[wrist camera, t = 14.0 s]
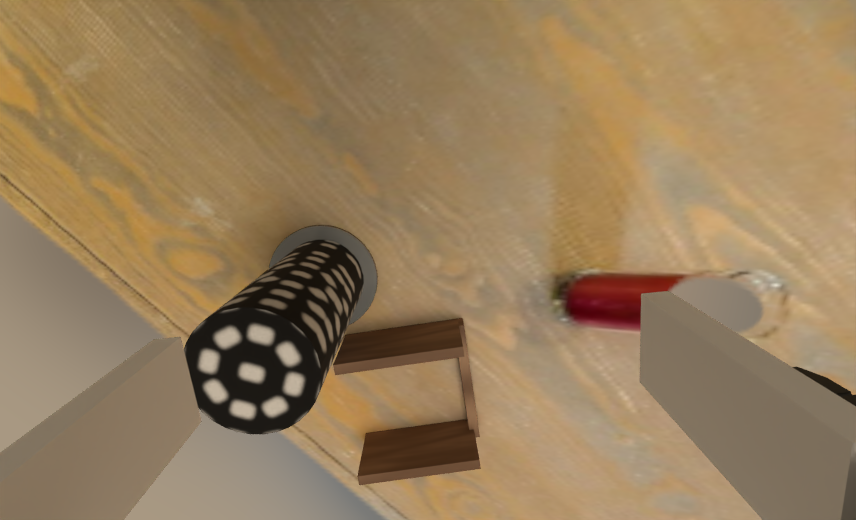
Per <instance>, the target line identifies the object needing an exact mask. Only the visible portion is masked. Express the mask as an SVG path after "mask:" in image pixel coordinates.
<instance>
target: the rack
mask: <svg viewBox="0 0 856 520" xmlns="http://www.w3.org/2000/svg"><path fill="white" fill-rule="evenodd" d="M452 358H459V364H460V371H461V378H462V385H463V392H464V398H465V405H466V412H467V419H466V420H459V421H452V422H444V423H437V424H430V425H423V426H415V427H408V428H401V429H394V430H387V431H379V432H372V433H366V436H365V441H364V446H363V451H362V456H361V461H360V466H359V471H358V476H357V477H358V481H359V485H364V484H371V483H379V482H386V481H393V480H401V479H408V478H416V477H423V476H430V475H438V474H445V473H452V472H460V471H467V470H475V469H481V468H480V461H479V455H478V450H477V444H476V438H475V437H480V436H479V429H478V422H477V414H476V407H475V400H474V393H473V386H472V379H471V372H470V365H469V358H468V351H467V344H466V337H465V330H464V323H463V319H462V318H459V319H452V320H445V321H438V322H432V323H425V324H418V325H411V326H404V327H397V328H390V329H383V330H376V331H369V332H363V333H356V334H349V335H345V338H344V340H343V343H342V345H341V347H340V350H339V352H338V355H337V357H336V360H335V362H334V364H333V367H334V371H335V375H339V374H346V373H353V372H360V371H367V370H374V369H381V368H388V367H395V366H402V365H409V364H417V363H424V362H431V361H438V360H445V359H452Z"/></svg>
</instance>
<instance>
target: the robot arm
mask: <svg viewBox="0 0 856 520" xmlns="http://www.w3.org/2000/svg"><path fill="white" fill-rule="evenodd" d="M640 383H641V384H642V385H643V386H644V387H645V388H646V390H647V391H648V392H649V393H650V394H651V395H652V396H653V397H654V399H655V400H656V401H657V402H658V403H659V404H660V405H661V406H662V407H663V409H664V410H665V411H666V412H667V413H668V414H669V415H670V416H671V418H672V419H673V420H674V421H675V422H676V423H677V424H678V425H679V427H680V428H681V429H682V430H683V431H684V432H685V433H686V434H687V435H688V437H689V438H690V439H691V440H692V441H693V442H694V443H695V444H696V446H697V447H698V448H699V449H700V450H701V451H702V452H703V453H704V454H705V456H706V457H707V458H708V459H709V460H710V461H711V462H712V463H713V465H714V466H715V467H716V468H717V469H718V470H719V471H720V472H721V474H722V475H723V476H724V477H725V478H726V479H727V480H728V481H729V482H730V484H731V485H732V486H733V487H734V488H735V489H736V490H737V491H738V493H739V494H740V495H741V496H742V497H743V498H744V499H745V500H746V501H747V503H748V504H749V505H750V506H751V507H752V508H753V509H754V510H755V512H756V513H757V514H758V515H759V516H760V517H761V518H762V519H763V520H856V395H852V394H851V392H850V391H848V390H847V389H845V388H843V387H842V386H840V385H838V384H837V383H835V382H833V381H832V380H830V379H828V378H826V377H823V376H821V375H818V374H815V373H813V372H810V371H807V370H804V369H802V368H799V367H791V366H789V365H788V364H786V363H784V362H783V361H781V360H780V359H778V358H776V357H775V356H773V355H771V354H770V353H768V352H767V351H765V350H763V349H762V348H760V347H758V346H757V345H755V344H754V343H752V342H750V341H749V340H747V339H745V338H744V337H742V336H741V335H739V334H737V333H736V332H734V331H732V330H731V329H729V328H728V327H726V326H724V325H723V324H721V323H720V322H718V321H716V320H715V319H713V318H711V317H710V316H708V315H707V314H705V313H703V312H702V311H700V310H698V309H697V308H695V307H693V306H692V305H690V304H689V303H687V302H685V301H684V300H682V299H681V298H679V297H677V296H676V295H674V294H672V293H671V292H669V291H666V292H655V293H644V294H641V337H640ZM200 423H201V417H200V413H199V409H198V405H197V401H196V397H195V393H194V389H193V385H192V381H191V377H190V373H189V369H188V365H187V361H186V357H185V353H184V349H183V345H182V341H181V337H174V338H163V339H154V340H153V341H151V342H150V343H149V344H147V345H146V346H144V347H143V348H142V349H140V350H139V351H138V352H136V353H135V354H134V355H132V356H131V357H130V358H128V359H127V360H125V361H124V362H123V363H122V364H120V365H119V366H117V367H116V368H115V369H113V370H112V371H111V372H109V373H108V374H107V375H105V376H104V377H102V378H101V379H100V380H98V381H97V382H96V383H94V384H93V385H92V386H90V387H89V388H87V389H86V390H85V391H83V392H82V393H81V394H79V395H78V396H77V397H75V398H74V399H73V400H71V401H70V402H69V403H67V404H66V405H64V406H63V407H62V408H60V409H59V410H58V411H56V412H55V413H54V414H52V415H51V416H49V417H48V418H47V419H45V420H44V421H43V422H41V423H40V424H39V425H37V426H36V427H35V428H33V429H32V430H31V431H29V432H28V433H27V434H25V435H24V436H22V437H21V438H20V439H18V440H17V441H16V442H14V443H13V444H11V445H10V446H9V447H8V448H6V449H5V450H3V451H2V452H1V453H0V520H124V519H125V518H126V516H127V515H128V514H129V513H130V511H131V510H132V509H133V508H134V506H135V505H136V504H137V502H138V501H139V500H140V499H141V497H142V496H143V495H144V494H145V492H146V491H147V490H148V489H149V487H150V486H151V485H152V484H153V482H154V481H155V480H156V478H157V477H158V476H159V475H160V473H161V472H162V471H163V470H164V468H165V467H166V466H167V465H168V463H169V462H170V461H171V459H172V458H173V457H174V456H175V454H176V453H177V452H178V451H179V449H180V448H181V447H182V446H183V444H184V443H185V442H186V441H187V439H188V438H189V437H190V435H191V434H192V433H193V432H194V430H195V429H196V428H197V427H198V425H199V424H200Z"/></svg>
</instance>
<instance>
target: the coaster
mask: <svg viewBox="0 0 856 520" xmlns="http://www.w3.org/2000/svg"><path fill="white" fill-rule="evenodd" d="M312 240H329V241H334V242H336V243H339V244H341V245H342V246H344V247H346V248H347V249H348V250H349V251H351V252H352V253H353V254H354V256H355V257H356V258H357V260H358V261H359V264H360V266H361V268H362V272H363V277H364V285H363V290H362V293H361V296H360V298H359V301H358V303H357V305H356V308H355V310H354V312H353V315H352V317H351V319H350V322H349V324H348V325H350V324H352V323H354V322H355V321H357V320H358V319H359V318H360V317H361V316H363V315H364V313H365V312H366V311H367V310H368V308H369V307H370V305H371V303H372V301H373V299H374V296H375V293H376V289H377V270H376V266H375V262H374V260H373V257H372V256H371V254H370V252H369V250H368V249H367V248H366V246H365V245H364V244H363V243H362V242H361V241H360V240H359V239H358V238H356V237H355V236H354V235H352V234H350V233H349V232H347V231H345V230H342V229H340V228H336V227H332V226H324V225H318V226H310V227H306V228H303V229H300V230H298V231H296V232H294V233H293V234H291V235H290V236H288V237H287V238H286V239H285V240H284V241H283V242H281V244H280V245H279V246H278V247H277V249H276V250H275V252H274V254H273V256H272V259H271V261H270V266H269V269H270V268H271V267H272V266H273V265H275V264H276V263H277V262H279V261H280V260H281V259H282V258H284V257H285V256H286V255H287V254H289V253H290V252H291V251H292V250H294V249H295V248H296V247H298V246H299V245H301V244H303V243H305V242H308V241H312Z"/></svg>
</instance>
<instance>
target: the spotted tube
mask: <svg viewBox="0 0 856 520" xmlns="http://www.w3.org/2000/svg"><path fill="white" fill-rule="evenodd" d="M363 285H364V277H363V272H362V268H361V266H360V264H359V261H358V260H357V258H356V257H355V256H354V254H353V253H352V252H351V251H349V250H348V249H347V248H346V247H344V246H342V245H341V244H339V243H336V242H334V241H329V240H312V241H308V242H305V243H303V244H301V245H299V246H298V247H296V248H295V249H294V250H292V251H291V252H290V253H289V254H287V255H286V256H285V257H284V258H282V259H281V260H280V261H279V262H277V263H276V264H275V265H273V266H272V267H271V268H270V269H268V270H267V271H266V272H265V273H263V274H262V275H261V276H260V277H258V278H257V279H256V280H255V281H253V282H252V283H251V284H249V285H248V286H247V287H246V288H244V289H243V290H242V291H241V292H239V293H238V294H237V295H236V296H234V297H233V298H232V299H231V300H229V301H228V302H227V303H225V304H224V305H223V306H222V307H220V308H219V309H218V310H217V311H215V312H214V313H213V314H212V315H210V316H209V317H208V318H207V319H205V320H204V321H203V322H201V324H200V325H199V326H198V327H197V328H196V329H195V330H194V331H193V332H192V334H191V335H190V337H189V339H188V340H187V342H186V345H185V348H184V353H185V357H186V361H187V365H188V369H189V373H190V377H191V381H192V385H193V389H194V393H195V397H196V401H197V405H198V408H199V409H200V410H201V411H202V412H203V413H204V414H205V415H207V416H208V417H209V418H210V419H211V420H213V421H214V422H216V423H218V424H220V425H221V426H223V427H225V428H228V429H231V430H234V431H237V432H242V433H247V434H268V433H273V432H278V431H281V430H283V429H286V428H289V427H290V426H292V425H293V424H295V423H297V422H298V421H300V420H301V419H302V418H303V417H304V416H305V415H306V414H307V413H308V412H309V411H310V409H311V408H312V406H313V405H314V403H315V401H316V399H317V397H318V394H319V392H320V390H321V387H322V385H323V383H324V380H325V378H326V376H327V373H328V371H329V369H330V366H331V364H332V362H333V359H334V357H335V354H336V352H337V350H338V347H339V345H340V343H341V340H342V338H343V336H344V333H345V331H346V329H347V326H348V324H349V322H350V319H351V317H352V315H353V312H354V310H355V308H356V305H357V303H358V301H359V298H360V296H361V293H362V290H363Z"/></svg>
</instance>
